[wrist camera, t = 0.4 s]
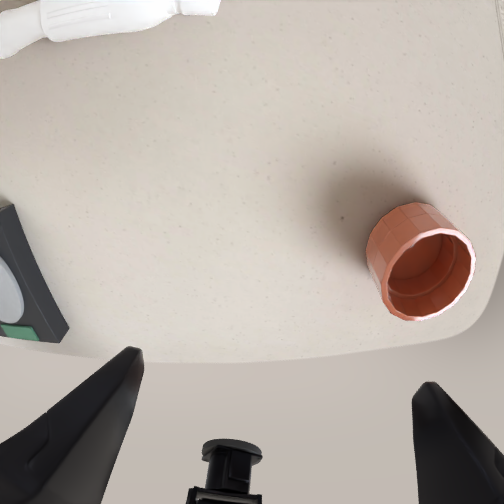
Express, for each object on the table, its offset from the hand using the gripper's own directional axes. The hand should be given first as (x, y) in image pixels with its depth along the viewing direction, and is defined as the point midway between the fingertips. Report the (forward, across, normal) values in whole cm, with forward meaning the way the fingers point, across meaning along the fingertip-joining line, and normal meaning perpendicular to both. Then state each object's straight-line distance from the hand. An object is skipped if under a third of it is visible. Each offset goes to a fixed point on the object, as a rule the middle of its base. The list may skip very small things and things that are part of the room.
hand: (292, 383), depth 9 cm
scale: (+14, +26, +11) cm, 32 cm away
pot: (+14, -9, +1) cm, 16 cm away
